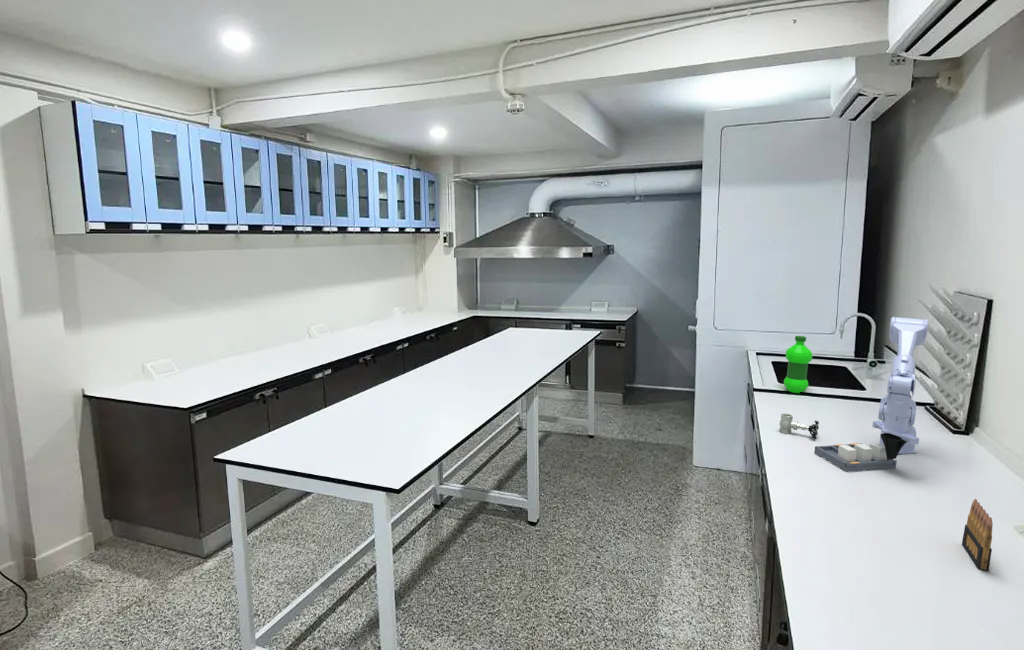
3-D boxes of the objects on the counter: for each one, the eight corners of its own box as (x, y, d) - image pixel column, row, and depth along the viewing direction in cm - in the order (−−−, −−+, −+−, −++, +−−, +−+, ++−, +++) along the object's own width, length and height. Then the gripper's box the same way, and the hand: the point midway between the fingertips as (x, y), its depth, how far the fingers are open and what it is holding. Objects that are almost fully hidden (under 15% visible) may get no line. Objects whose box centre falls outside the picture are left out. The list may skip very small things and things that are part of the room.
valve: (776, 433, 198) (814, 441, 191) (778, 416, 197) (816, 423, 190) (780, 428, 203) (817, 436, 196) (782, 411, 202) (819, 418, 195)
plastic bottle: (807, 396, 242) (813, 340, 237) (780, 392, 247) (785, 337, 243) (809, 390, 250) (815, 336, 246) (783, 386, 256) (788, 333, 251)
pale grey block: (876, 456, 175) (877, 442, 174) (886, 461, 171) (888, 447, 171) (868, 456, 175) (870, 443, 174) (878, 462, 171) (880, 448, 170)
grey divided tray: (860, 450, 184) (861, 442, 183) (895, 468, 170) (896, 460, 169) (814, 453, 181) (815, 445, 180) (846, 472, 167) (847, 463, 167)
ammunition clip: (961, 543, 130) (969, 496, 127) (971, 545, 129) (979, 497, 127) (977, 569, 120) (986, 518, 118) (988, 571, 119) (997, 520, 117)
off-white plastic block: (845, 458, 173) (846, 444, 173) (855, 463, 170) (856, 450, 169) (837, 459, 173) (838, 445, 172) (846, 464, 169) (848, 450, 168)
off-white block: (860, 457, 174) (862, 443, 174) (870, 462, 170) (872, 448, 170) (852, 458, 174) (854, 444, 173) (862, 463, 170) (864, 449, 169)
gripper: (866, 408, 172) (860, 449, 174) (906, 424, 158) (900, 469, 160) (886, 406, 173) (880, 448, 176) (927, 423, 159) (921, 467, 161)
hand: (891, 458), depth 168 cm, fingers closed
